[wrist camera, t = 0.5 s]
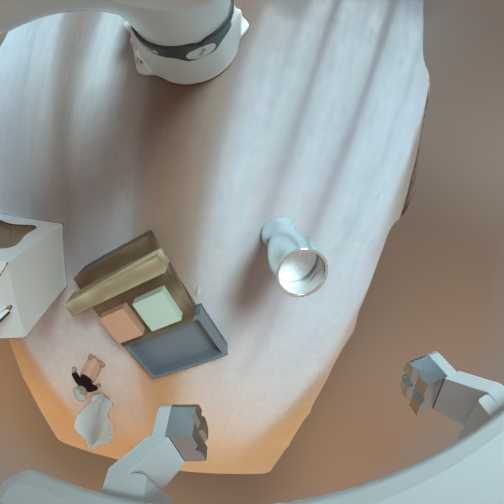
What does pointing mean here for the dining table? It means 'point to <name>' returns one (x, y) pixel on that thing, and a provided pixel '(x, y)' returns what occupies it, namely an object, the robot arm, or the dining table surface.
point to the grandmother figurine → (87, 378)
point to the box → (180, 346)
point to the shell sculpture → (95, 422)
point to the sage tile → (157, 308)
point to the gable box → (28, 272)
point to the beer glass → (293, 258)
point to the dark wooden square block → (168, 279)
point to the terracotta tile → (122, 323)
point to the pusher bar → (118, 281)
